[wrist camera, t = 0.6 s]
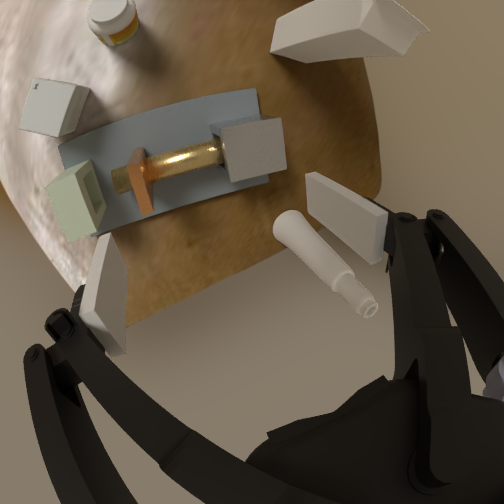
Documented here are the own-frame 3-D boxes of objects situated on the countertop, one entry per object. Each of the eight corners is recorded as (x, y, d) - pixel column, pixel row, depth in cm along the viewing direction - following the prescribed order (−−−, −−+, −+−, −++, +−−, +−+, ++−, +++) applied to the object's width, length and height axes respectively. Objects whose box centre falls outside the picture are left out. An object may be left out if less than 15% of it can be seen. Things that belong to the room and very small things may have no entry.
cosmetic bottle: (301, 204, 44) (393, 280, 27) (306, 234, 48) (388, 315, 30) (268, 217, 44) (350, 306, 26) (276, 247, 47) (349, 338, 29)
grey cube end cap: (208, 124, 32) (220, 128, 26) (259, 114, 33) (281, 117, 28) (217, 169, 36) (230, 182, 30) (265, 157, 37) (287, 169, 31)
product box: (39, 123, 24) (16, 129, 18) (54, 79, 22) (33, 76, 16) (76, 131, 27) (58, 139, 21) (92, 88, 25) (77, 84, 19)
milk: (276, 19, 27) (387, -28, 9) (312, 31, 29) (433, 8, 11) (269, 53, 30) (384, 23, 12) (306, 64, 32) (431, 57, 14)
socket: (65, 169, 28) (44, 187, 22) (90, 158, 29) (74, 173, 22) (82, 215, 32) (68, 242, 26) (106, 206, 33) (96, 231, 26)
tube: (112, 157, 29) (97, 177, 21) (261, 118, 33) (296, 125, 25) (124, 193, 32) (115, 225, 24) (266, 154, 36) (300, 172, 28)
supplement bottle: (144, 13, 22) (142, -15, 14) (131, 48, 24) (123, 29, 16) (106, 11, 19) (93, -16, 12) (93, 45, 22) (73, 28, 14)
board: (60, 144, 27) (57, 146, 26) (252, 88, 32) (255, 88, 31) (92, 233, 35) (91, 237, 34) (266, 180, 40) (269, 182, 39)
